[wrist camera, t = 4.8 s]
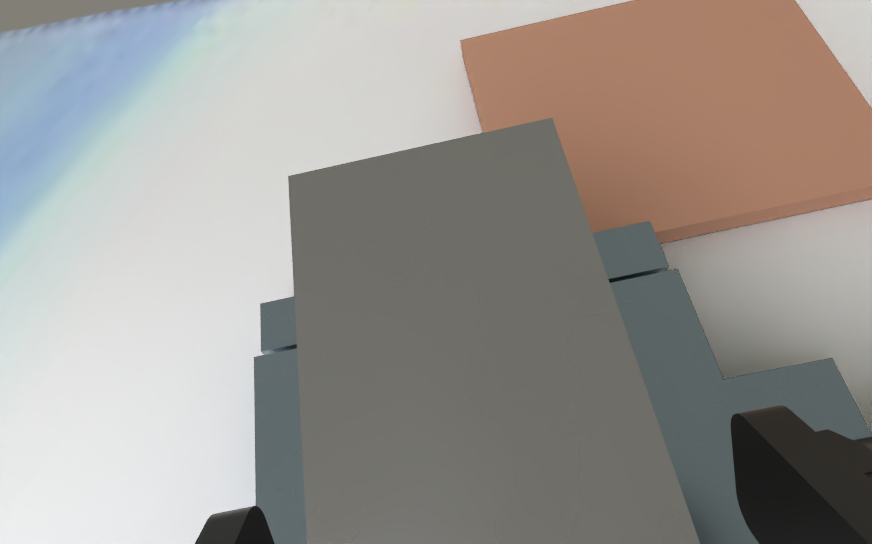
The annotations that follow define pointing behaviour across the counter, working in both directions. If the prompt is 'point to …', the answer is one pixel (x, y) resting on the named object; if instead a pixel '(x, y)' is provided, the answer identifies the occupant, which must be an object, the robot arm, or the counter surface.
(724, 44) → the mat
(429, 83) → the counter surface
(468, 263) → the gray rectangular prism
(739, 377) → the vise
